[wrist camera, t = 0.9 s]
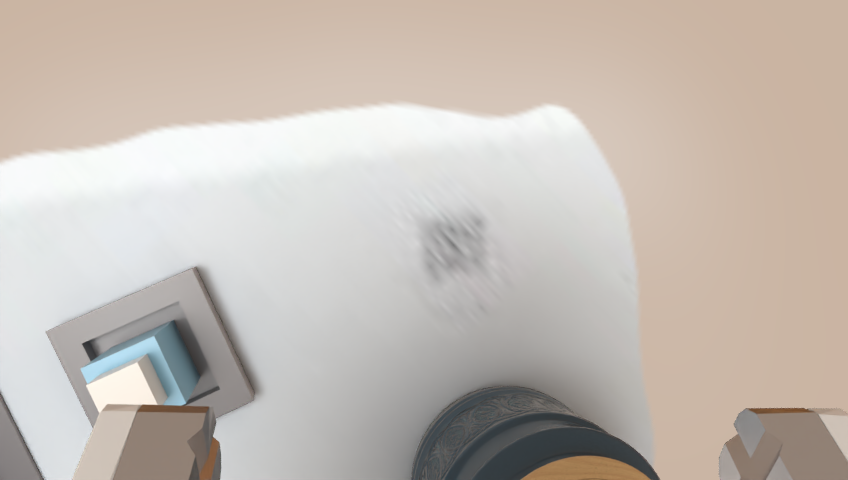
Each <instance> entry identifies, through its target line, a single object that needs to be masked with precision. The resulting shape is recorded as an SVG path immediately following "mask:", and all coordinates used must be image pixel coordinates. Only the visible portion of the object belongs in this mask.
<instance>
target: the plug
mask: <svg viewBox="0 0 848 480" xmlns="http://www.w3.org/2000/svg"><path fill="white" fill-rule="evenodd" d="M81 372H82V374H83V376H84V378H85V380H86V382H87V385H86V387H87V389H88V391H89V393H90V395H91V397H92V399H93V401H94V403H95V405H96V407H97V409H98V411H99V413H100V412H101V411H102V410H103V408H104V407H105V406H106V405H107V404H134V405H142V404H146V405H179V406H181V405H184V404H186V403H187V401H188V399H189V397H190V395H191V394H192V392H193V390H194V388H195V386H196V385H197V383H198V381H199V379H200V375H199V373H198V371H197V369H196V367H195V364H194V362H193V360H192V358H191V356H190V354H189V352H188V350H187V347H186V345H185V343H184V341H183V339H182V337H181V335H180V333H179V331H178V328H177V326H176V324H175V322H174V320H172V321H170V322H168V323H165V324H163V325H161V326H159V327H156V328H154V329H152V330H150V331H147V332H145V333H143V334H141V335H138V336H136V337H134V338H132V339H129V340H127V341H125V342H123V343H120V344H118V345H116V346H114V347H111V348H110V349H108V350H107V351H105V352H104V353H103V354H101V355H100V356H98V357H97V358H95V359H94V360H92V361H91V362H89V363H88V364H87V365H85V366H84V367H82V368H81Z"/></svg>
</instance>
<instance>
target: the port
mask: <svg viewBox="0 0 848 480" xmlns="http://www.w3.org/2000/svg"><path fill="white" fill-rule="evenodd" d="M0 480H43V478H42V476H41V474H40V472H39V470H38V468H37V466H36V464H35V462H34V460H33V458H32V456H31V454H30V452H29V450H28V448H27V446H26V444H25V442H24V440H23V439H22V437H21V435H20V433H19V431H18V429H17V427H16V425H15V423H14V421H13V419H12V417H11V415H10V413H9V411H8V409H7V407H6V405H5V403H4V401H3V399H2V397H1V395H0Z"/></svg>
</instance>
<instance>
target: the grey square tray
mask: <svg viewBox="0 0 848 480" xmlns="http://www.w3.org/2000/svg"><path fill="white" fill-rule="evenodd" d="M172 320H174V322H175V324H176V326H177V328H178V331H179V333H180V335H181V337H182V339H183V341H184V343H185V345H186V347H187V350H188V352H189V354H190V356H191V358H192V360H193V362H194V364H195V367H196V369H197V371H198V373H199V375H200V379H199V381H198V383H197V385H196V386H195V388H194V390H193V392H192V394H191V395H190V397H189V399H188V401H187V403H186V404H184V405H181V406H210V407H213V409H214V414H215V418H217V417H220V416H222V415H224V414H226V413H228V412H230V411H232V410H234V409H237V408H239V407H241V406H243V405H245V404H247V403H249V402H251V401H253V399H254V394H255V393H254V391H253V389H252V387H251V385H250V383H249V380H248V378H247V376H246V374H245V372H244V370H243V368H242V365H241V363H240V361H239V359H238V357H237V355H236V353H235V350H234V348H233V346H232V344H231V342H230V340H229V338H228V335H227V333H226V331H225V329H224V327H223V325H222V322H221V320H220V318H219V316H218V314H217V312H216V310H215V307H214V305H213V303H212V301H211V299H210V297H209V295H208V292H207V290H206V288H205V286H204V284H203V282H202V280H201V277H200V275H199V273H198V271H197V269H196V267H194V268H191V269H189V270H187V271H184V272H182V273H180V274H177V275H175V276H173V277H170V278H168V279H166V280H164V281H161V282H159V283H157V284H154V285H152V286H150V287H147V288H145V289H143V290H140V291H138V292H136V293H133V294H131V295H129V296H127V297H124V298H122V299H120V300H117V301H115V302H113V303H110V304H108V305H106V306H103V307H101V308H99V309H96V310H94V311H92V312H90V313H87V314H85V315H83V316H80V317H78V318H76V319H73V320H71V321H69V322H66V323H64V324H62V325H59V326H57V327H55V328H53V329H50V330H48V331H46V333H47V336H48V338H49V340H50V342H51V344H52V346H53V348H54V350H55V352H56V354H57V356H58V358H59V360H60V362H61V364H62V366H63V368H64V370H65V372H66V374H67V376H68V378H69V380H70V382H71V384H72V386H73V389H74V391H75V393H76V395H77V397H78V399H79V401H80V403H81V405H82V407H83V409H84V411H85V413H86V415H87V417H88V419H89V421H90V423H91V425H92V427H94V425H95V423H96V420H97V418H98V415H99V411H98V409H97V407H96V405H95V403H94V401H93V399H92V397H91V395H90V393H89V391H88V389H87V387H86V385H87V382H86V380H85V378H84V376H83V374H82V372H81V368H82V367H84V366H85V365H87V364H88V363H89V362H91V361H92V360H94V359H95V358H97V357H98V356H100V355H101V354H103V353H104V352H105V351H107V350H108V349H110V348H111V347H114V346H116V345H118V344H120V343H123V342H125V341H127V340H129V339H132V338H134V337H136V336H138V335H141V334H143V333H145V332H147V331H150V330H152V329H154V328H156V327H159V326H161V325H163V324H165V323H168V322H170V321H172Z"/></svg>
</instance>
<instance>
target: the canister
mask: <svg viewBox="0 0 848 480" xmlns="http://www.w3.org/2000/svg"><path fill="white" fill-rule="evenodd" d="M411 480H660V478H659V477H658V475H657V473H656V472H655V471H654V469H653V468H652V466H651V465H650V464H649V463H648V462H647V460H646V459H645V458H644V457H643V456H642V455H641V454H640V453H638V452H637V451H636V450H635V449H634V448H632V447H631V446H630V445H628V444H627V443H625V442H624V441H622V440H620V439H618V438H616V437H614V436H612V435H610V434H608V433H607V432H606V431H605V430H603V429H602V428H600V427H599V426H597V425H595V424H594V423H592V422H590V421H588V420H586V419H583V418H580V417H577V416H576V415H575V414H574V413H573V412H572V411H571V410H570V409H569V408H567V407H566V406H565V405H563V404H562V403H560V402H559V401H557V400H555V399H554V398H552V397H550V396H548V395H546V394H544V393H541V392H539V391H536V390H532V389H528V388H523V387H512V386H500V387H490V388H485V389H481V390H478V391H475V392H472V393H470V394H468V395H465V396H463V397H462V398H460V399H458V400H456V401H455V402H454V403H452V404H451V405H449V406H448V407H447V408H446V409H445V410H443V411H442V412H441V413H440V414H439V415H438V416H437V418H436V419H435V420H434V421H433V422H432V424H431V425H430V426H429V428H428V429H427V431H426V432H425V434H424V436H423V438H422V440H421V442H420V444H419V447H418V449H417V452H416V455H415V459H414V463H413V469H412V478H411Z"/></svg>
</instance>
